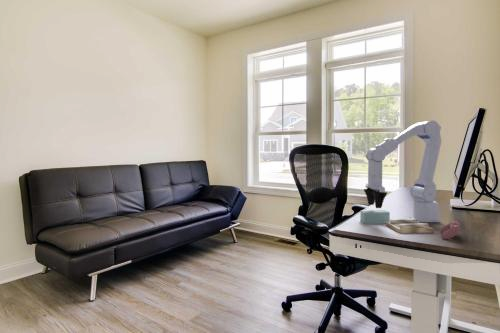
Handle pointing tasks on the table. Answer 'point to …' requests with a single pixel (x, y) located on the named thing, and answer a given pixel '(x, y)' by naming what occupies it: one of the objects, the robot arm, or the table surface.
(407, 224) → the display stand
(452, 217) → the table surface
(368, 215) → the light blue rectangular block
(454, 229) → the pink knobbed toy
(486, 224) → the table surface
